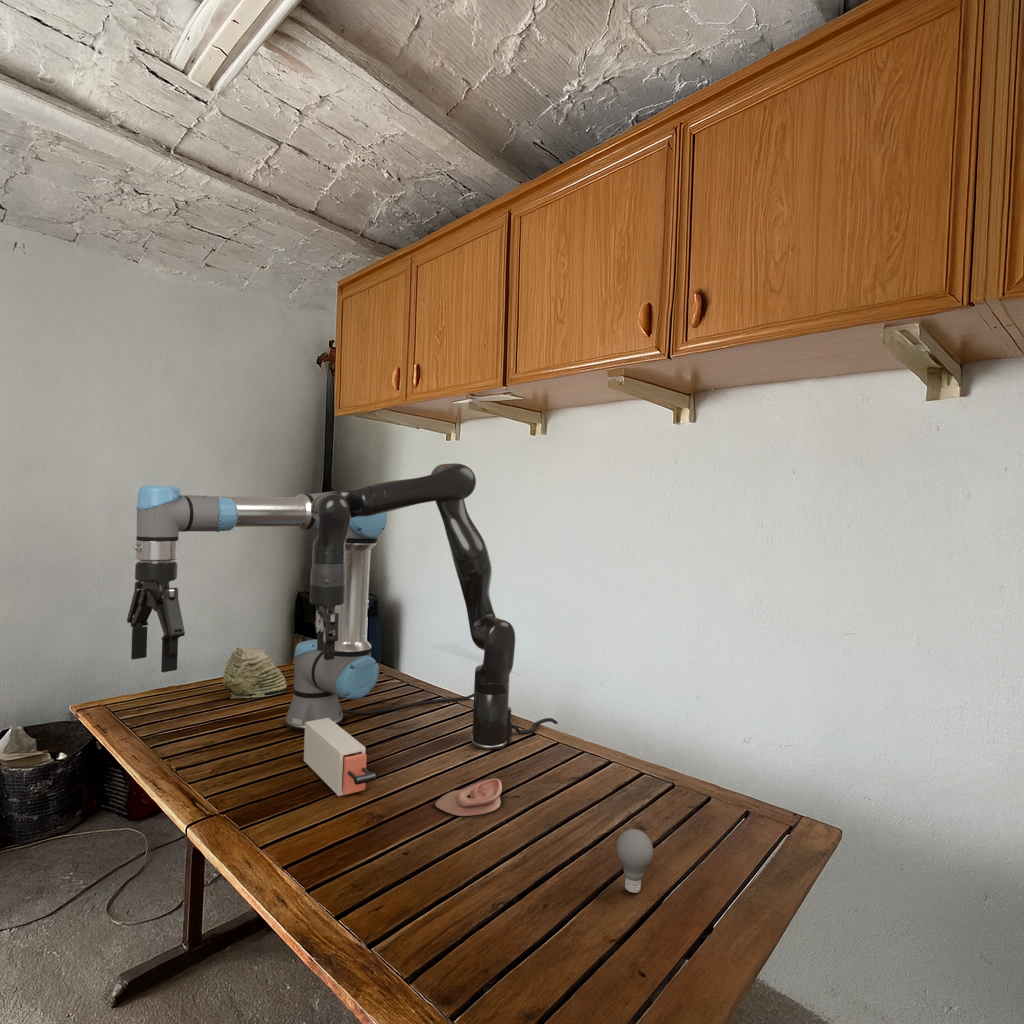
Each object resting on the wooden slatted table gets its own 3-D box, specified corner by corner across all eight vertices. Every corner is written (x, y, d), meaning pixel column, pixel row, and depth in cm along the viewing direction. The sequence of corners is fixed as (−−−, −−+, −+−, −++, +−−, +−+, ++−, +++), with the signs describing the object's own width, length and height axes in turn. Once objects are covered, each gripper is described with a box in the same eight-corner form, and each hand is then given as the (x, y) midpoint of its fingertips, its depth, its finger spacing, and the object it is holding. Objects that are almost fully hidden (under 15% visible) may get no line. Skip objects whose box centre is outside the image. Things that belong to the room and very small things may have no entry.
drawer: (376, 799, 132) (377, 763, 132) (355, 805, 129) (356, 768, 129) (329, 756, 152) (330, 725, 152) (310, 760, 149) (311, 728, 149)
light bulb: (610, 879, 108) (613, 822, 108) (644, 879, 109) (647, 822, 109) (619, 902, 102) (622, 840, 102) (655, 901, 103) (658, 840, 103)
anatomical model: (430, 792, 129) (447, 769, 140) (429, 811, 129) (446, 787, 140) (494, 801, 126) (506, 777, 137) (493, 821, 126) (505, 795, 138)
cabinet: (364, 789, 138) (365, 747, 138) (338, 796, 134) (340, 752, 134) (327, 755, 155) (328, 717, 155) (303, 760, 151) (305, 721, 151)
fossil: (218, 695, 195) (220, 647, 195) (278, 685, 208) (279, 640, 207) (228, 703, 189) (230, 653, 188) (289, 692, 201) (290, 645, 201)
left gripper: (111, 556, 134) (108, 656, 134) (166, 568, 119) (162, 680, 119) (148, 554, 140) (145, 650, 140) (205, 565, 125) (202, 672, 125)
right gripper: (351, 586, 137) (349, 661, 137) (338, 578, 149) (336, 646, 150) (316, 587, 133) (313, 664, 134) (305, 578, 146) (303, 648, 146)
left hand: (153, 664), depth 130 cm, fingers open, 13 cm apart
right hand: (325, 654), depth 142 cm, fingers open, 8 cm apart
